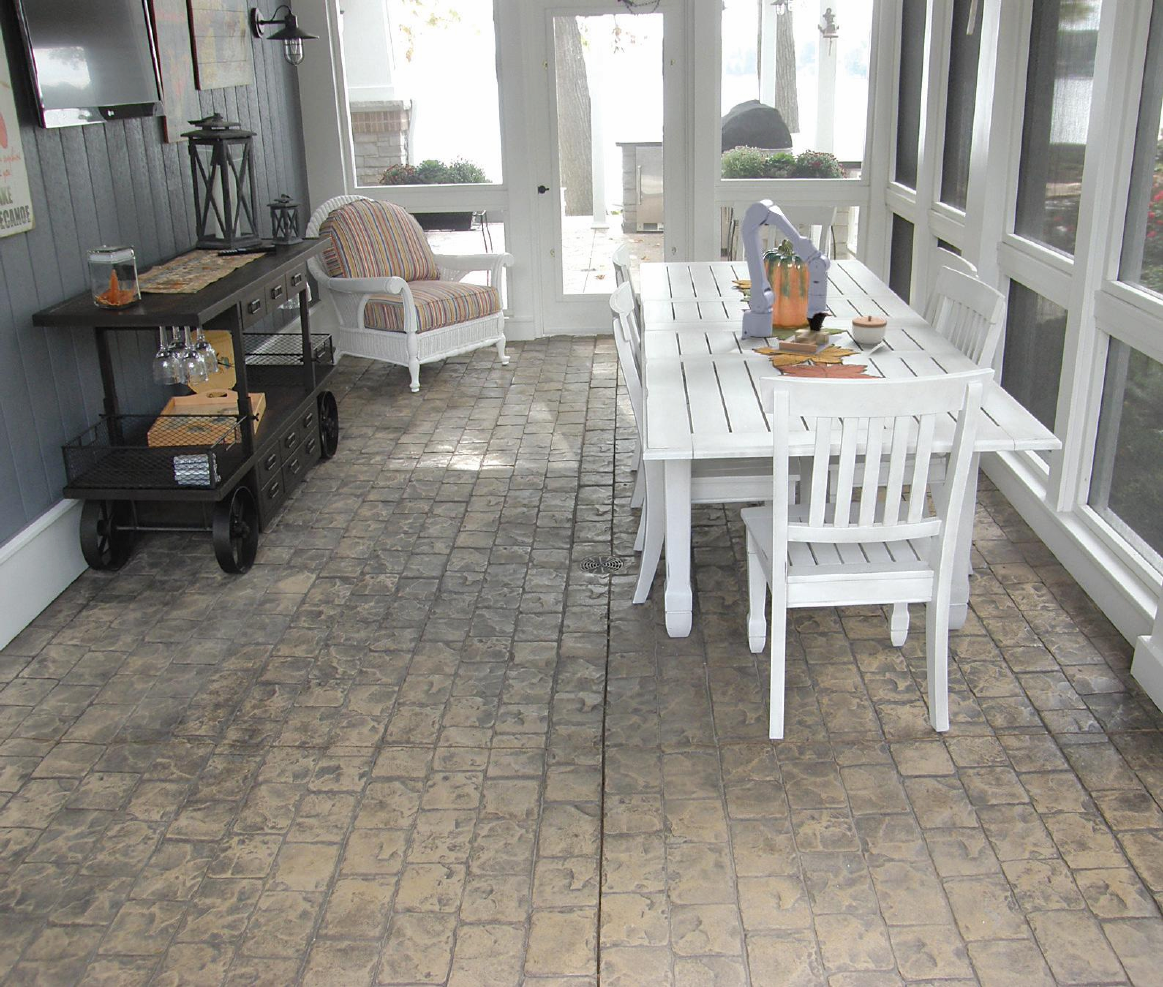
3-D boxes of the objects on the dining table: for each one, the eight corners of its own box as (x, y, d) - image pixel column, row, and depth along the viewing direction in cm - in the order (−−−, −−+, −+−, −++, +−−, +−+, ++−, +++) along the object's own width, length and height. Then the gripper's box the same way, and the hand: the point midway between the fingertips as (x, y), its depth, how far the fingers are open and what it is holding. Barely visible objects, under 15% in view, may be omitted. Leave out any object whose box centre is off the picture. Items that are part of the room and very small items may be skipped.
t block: (787, 345, 351) (787, 336, 350) (798, 338, 360) (799, 329, 359) (817, 348, 346) (818, 339, 345) (828, 341, 355) (829, 332, 354)
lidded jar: (871, 350, 348) (873, 320, 345) (843, 344, 356) (845, 315, 353) (891, 344, 354) (894, 315, 351) (864, 339, 362) (866, 310, 359)
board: (769, 353, 347) (770, 343, 346) (797, 335, 368) (798, 326, 367) (816, 358, 340) (816, 348, 339) (842, 340, 361) (842, 330, 360)
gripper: (822, 299, 345) (819, 342, 350) (836, 291, 357) (834, 332, 362) (800, 297, 349) (798, 339, 354) (815, 289, 360) (813, 330, 365)
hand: (815, 336), depth 358 cm, fingers closed
